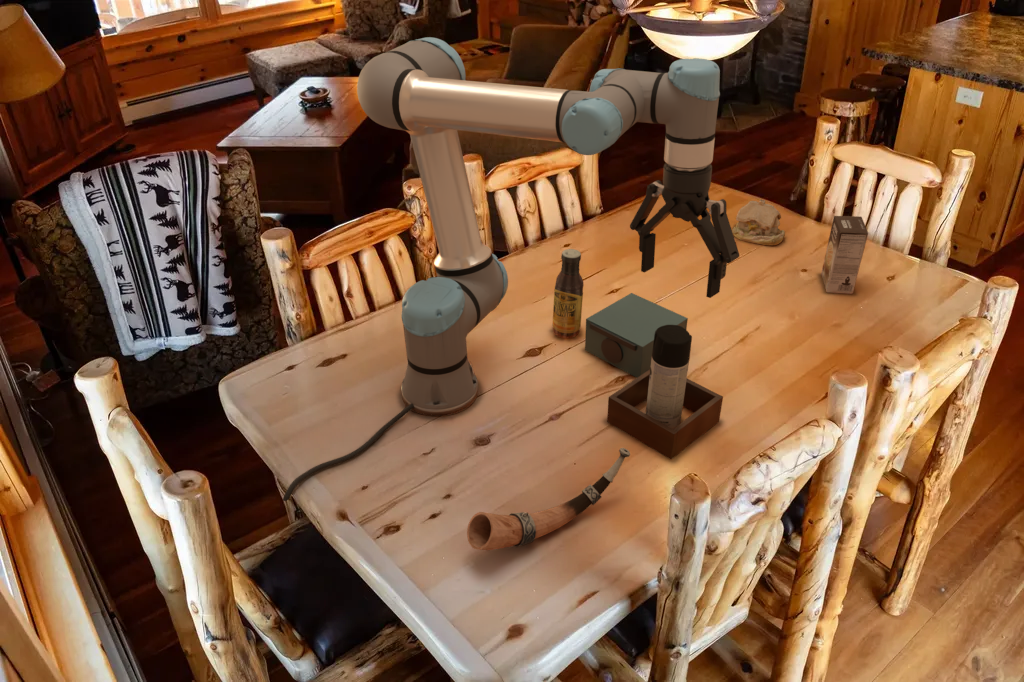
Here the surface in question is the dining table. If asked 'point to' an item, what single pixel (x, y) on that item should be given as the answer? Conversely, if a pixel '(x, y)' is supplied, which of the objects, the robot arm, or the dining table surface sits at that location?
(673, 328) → the spray can
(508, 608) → the dining table surface
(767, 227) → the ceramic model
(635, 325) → the green block
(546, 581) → the dining table surface
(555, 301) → the sauce bottle
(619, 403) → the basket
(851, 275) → the coffee box
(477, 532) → the curved blowing horn
